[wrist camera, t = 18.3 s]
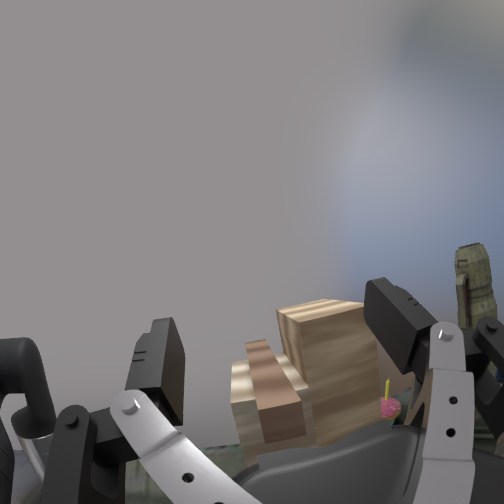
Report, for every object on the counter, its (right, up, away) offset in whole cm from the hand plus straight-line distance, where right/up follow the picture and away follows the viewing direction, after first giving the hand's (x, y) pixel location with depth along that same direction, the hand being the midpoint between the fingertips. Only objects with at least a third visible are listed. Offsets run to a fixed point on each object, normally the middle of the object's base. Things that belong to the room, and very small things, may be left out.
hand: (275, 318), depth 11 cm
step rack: (+9, -36, +20) cm, 42 cm away
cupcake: (+27, -35, +36) cm, 57 cm away
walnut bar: (+1, -12, +17) cm, 21 cm away
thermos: (+45, -31, +26) cm, 61 cm away
